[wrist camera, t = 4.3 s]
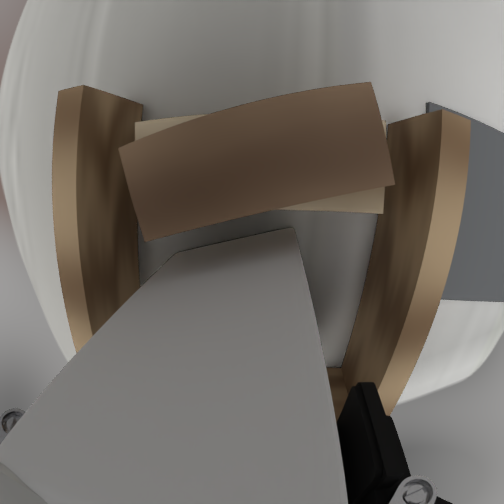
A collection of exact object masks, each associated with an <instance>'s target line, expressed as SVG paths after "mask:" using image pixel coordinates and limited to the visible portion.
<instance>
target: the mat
mask: <svg viewBox="0 0 504 504" xmlns="http://www.w3.org/2000/svg"><path fill="white" fill-rule="evenodd" d="M441 109H443V110H446V111H449V112H451V113H454V114H456V115H459V116H461V117H464V118H466V119H469V120H471V132H470V152H469V164H468V175H467V183H466V191H465V198H464V205H463V211H462V216H461V222H460V227H459V232H458V237H457V241H456V246H455V250H454V254H453V258H452V262H451V266H450V270H449V273H448V277H447V280H446V284H445V287H444V290H443V294H442V297H441V299H443V300H463V301H489V302H504V133H502V132H500V131H498V130H496V129H494V128H492V127H490V126H488V125H486V124H484V123H482V122H479V121H477V120H475V119H472V118H470V117H468V116H465V115H463V114H461V113H458V112H455V111H453V110H450V109H448V108H445V107H442V106H440V105H437V104H434V103H431V102H428V103H426V113H430V112H433V111H437V110H441Z"/></svg>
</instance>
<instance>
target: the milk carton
mask: <svg viewBox="0 0 504 504" xmlns="http://www.w3.org/2000/svg"><path fill="white" fill-rule="evenodd" d="M0 462H1V463H2V464H4V465H5V466H6V467H8V468H9V469H10V470H11V471H12V472H13V473H14V474H15V475H16V476H17V477H19V478H20V479H21V480H22V481H23V482H24V483H25V484H26V485H27V486H28V487H29V488H31V489H32V490H33V491H34V492H35V493H37V494H38V495H39V496H40V497H41V498H43V499H44V500H45V501H46V502H47V503H48V504H348V498H347V490H346V483H345V475H344V468H343V461H342V455H341V448H340V442H339V436H338V430H337V424H336V418H335V412H334V406H333V401H332V395H331V390H330V385H329V379H328V374H327V369H326V364H325V359H324V354H323V349H322V344H321V340H320V335H319V330H318V326H317V321H316V316H315V312H314V308H313V303H312V299H311V294H310V290H309V286H308V282H307V277H306V273H305V269H304V265H303V261H302V257H301V253H300V249H299V245H298V241H297V237H296V233H295V230H294V229H293V228H286V229H281V230H276V231H272V232H267V233H263V234H258V235H253V236H249V237H244V238H240V239H235V240H231V241H226V242H222V243H218V244H213V245H209V246H204V247H200V248H196V249H191V250H187V251H183V252H179V253H176V254H174V255H173V256H172V257H171V258H170V259H169V260H168V261H167V262H166V263H165V264H164V265H163V266H162V267H161V268H160V269H159V270H158V271H157V272H155V273H154V274H153V275H152V276H151V277H150V278H149V279H148V280H147V281H146V282H145V283H144V284H143V285H142V286H141V287H140V288H139V289H138V290H137V291H136V292H135V293H134V294H133V295H132V296H131V297H130V298H129V299H128V300H127V301H126V302H125V303H124V304H123V305H122V306H121V307H120V308H119V309H118V310H117V311H116V312H115V313H114V314H113V315H112V316H111V318H110V319H109V320H108V321H107V322H106V323H105V324H104V325H103V326H102V327H101V328H100V329H99V330H98V331H97V332H96V333H95V334H94V335H93V336H92V337H91V339H90V340H89V341H88V342H87V343H86V344H85V345H84V346H83V347H82V348H81V349H80V350H79V351H78V353H77V354H76V355H75V356H74V357H73V358H72V359H71V360H70V361H69V362H68V363H67V365H66V366H65V367H64V368H63V369H62V370H61V371H60V373H59V374H58V375H57V376H56V377H55V378H54V379H53V380H52V382H51V383H50V384H49V385H48V386H47V387H46V388H45V390H44V391H43V392H42V393H41V394H40V395H39V397H38V398H37V399H36V400H35V401H34V402H33V404H32V405H31V406H30V407H29V409H28V410H27V411H26V412H25V413H24V415H23V416H22V417H21V418H20V419H19V421H18V422H17V423H16V424H15V426H14V427H13V428H12V430H11V431H10V432H9V433H8V435H7V436H6V437H5V439H4V440H3V441H2V443H1V444H0Z"/></svg>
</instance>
